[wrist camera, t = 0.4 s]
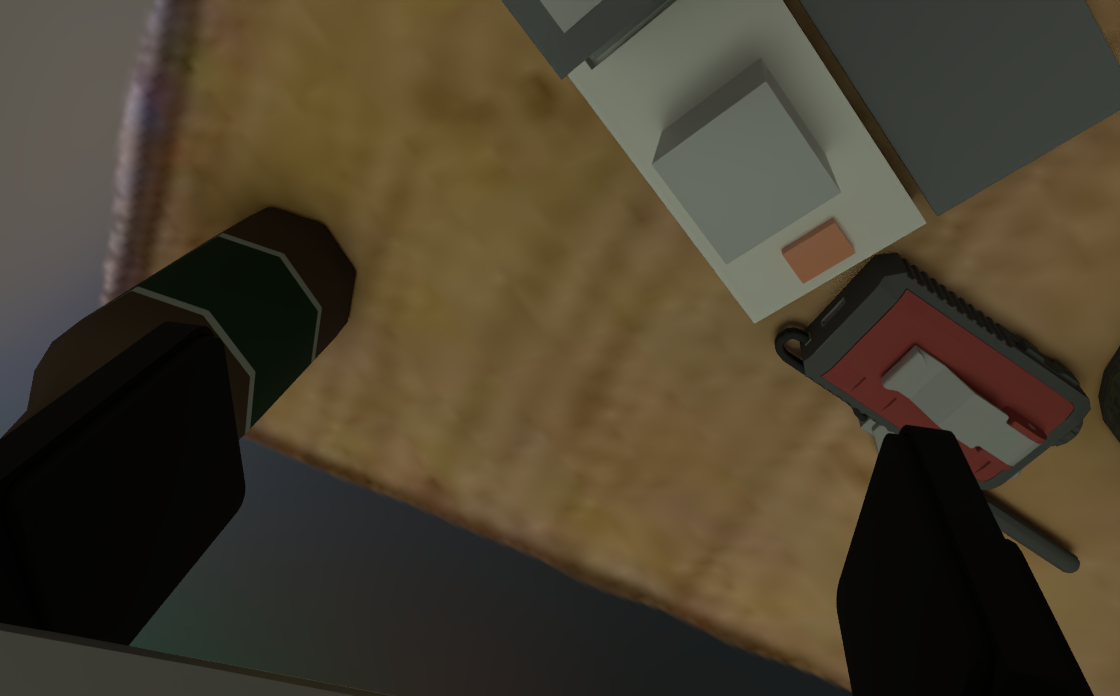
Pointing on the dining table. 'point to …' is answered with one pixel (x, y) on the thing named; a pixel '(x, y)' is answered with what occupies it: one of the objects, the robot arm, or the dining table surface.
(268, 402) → the beer bottle
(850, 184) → the power strip
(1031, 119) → the mat
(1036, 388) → the walkie-talkie
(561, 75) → the block
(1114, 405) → the thermos
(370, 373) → the dining table surface
